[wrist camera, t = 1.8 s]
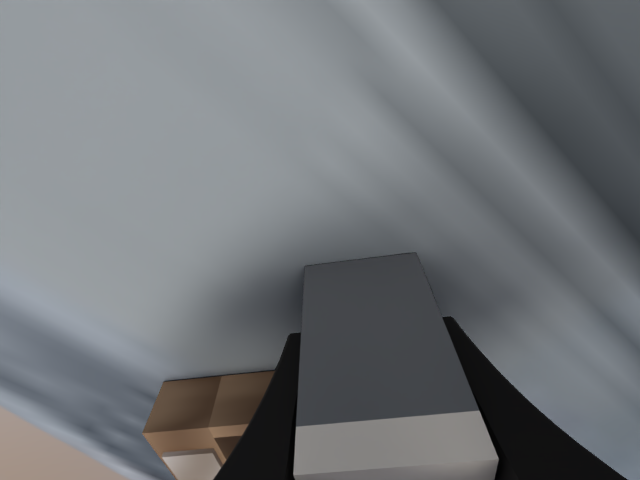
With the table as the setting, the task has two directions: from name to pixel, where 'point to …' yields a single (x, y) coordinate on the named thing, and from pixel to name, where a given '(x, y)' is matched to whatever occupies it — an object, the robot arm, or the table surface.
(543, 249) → the table surface
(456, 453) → the plug
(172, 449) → the socket board
